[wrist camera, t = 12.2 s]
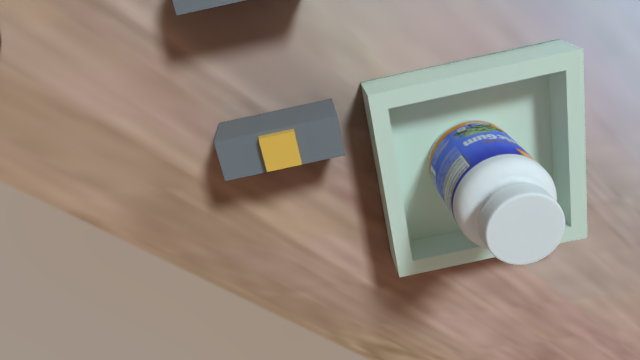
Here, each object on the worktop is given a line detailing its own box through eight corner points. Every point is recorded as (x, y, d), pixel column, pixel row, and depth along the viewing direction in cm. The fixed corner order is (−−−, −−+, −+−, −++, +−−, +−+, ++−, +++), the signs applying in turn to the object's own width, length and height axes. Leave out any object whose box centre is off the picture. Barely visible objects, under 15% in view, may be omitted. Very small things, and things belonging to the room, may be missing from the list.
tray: (360, 82, 36) (367, 95, 33) (559, 39, 36) (583, 48, 33) (390, 253, 41) (399, 277, 38) (565, 216, 41) (587, 237, 38)
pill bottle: (522, 127, 37) (601, 190, 28) (493, 204, 39) (558, 285, 30) (440, 109, 36) (494, 168, 27) (414, 188, 38) (457, 267, 29)
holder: (173, -38, 32) (160, -34, 29) (298, -66, 32) (301, -65, 29) (229, 159, 37) (224, 184, 34) (338, 135, 37) (346, 158, 33)
